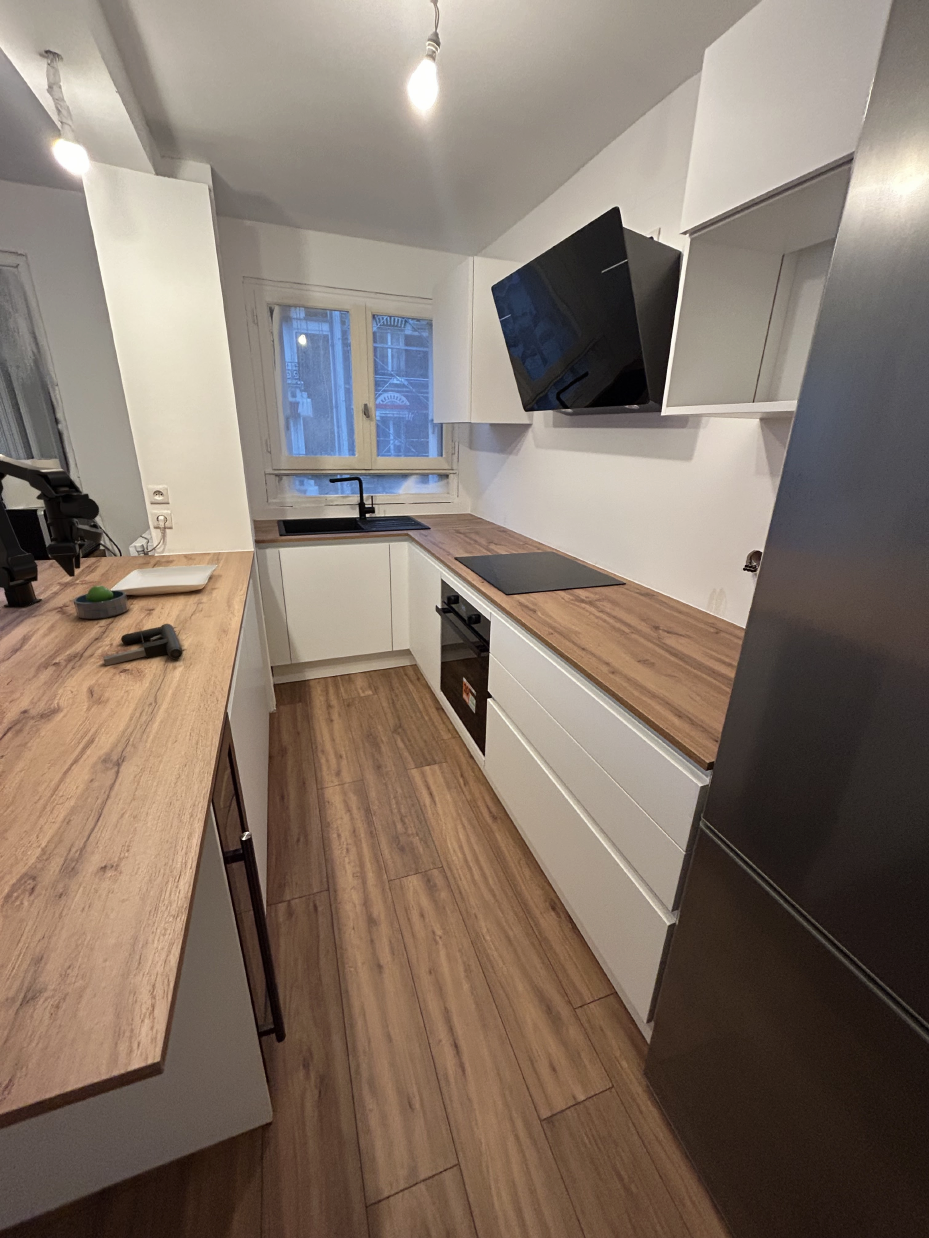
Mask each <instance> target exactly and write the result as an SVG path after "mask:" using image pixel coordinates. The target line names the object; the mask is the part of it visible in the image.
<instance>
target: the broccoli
mask: <svg viewBox="0 0 929 1238" xmlns="http://www.w3.org/2000/svg"><path fill="white" fill-rule="evenodd" d="M85 594H86V599H87V600H88V601H90V602H93V603H95V602H103V601H108V600H110V599H112V598H113V593H112V592H111V591H110V589H109V588H108V587H106V586H104V585H94V586H92V587H91V588H90V589H89V590H88V592H87V593H85Z"/></svg>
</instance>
